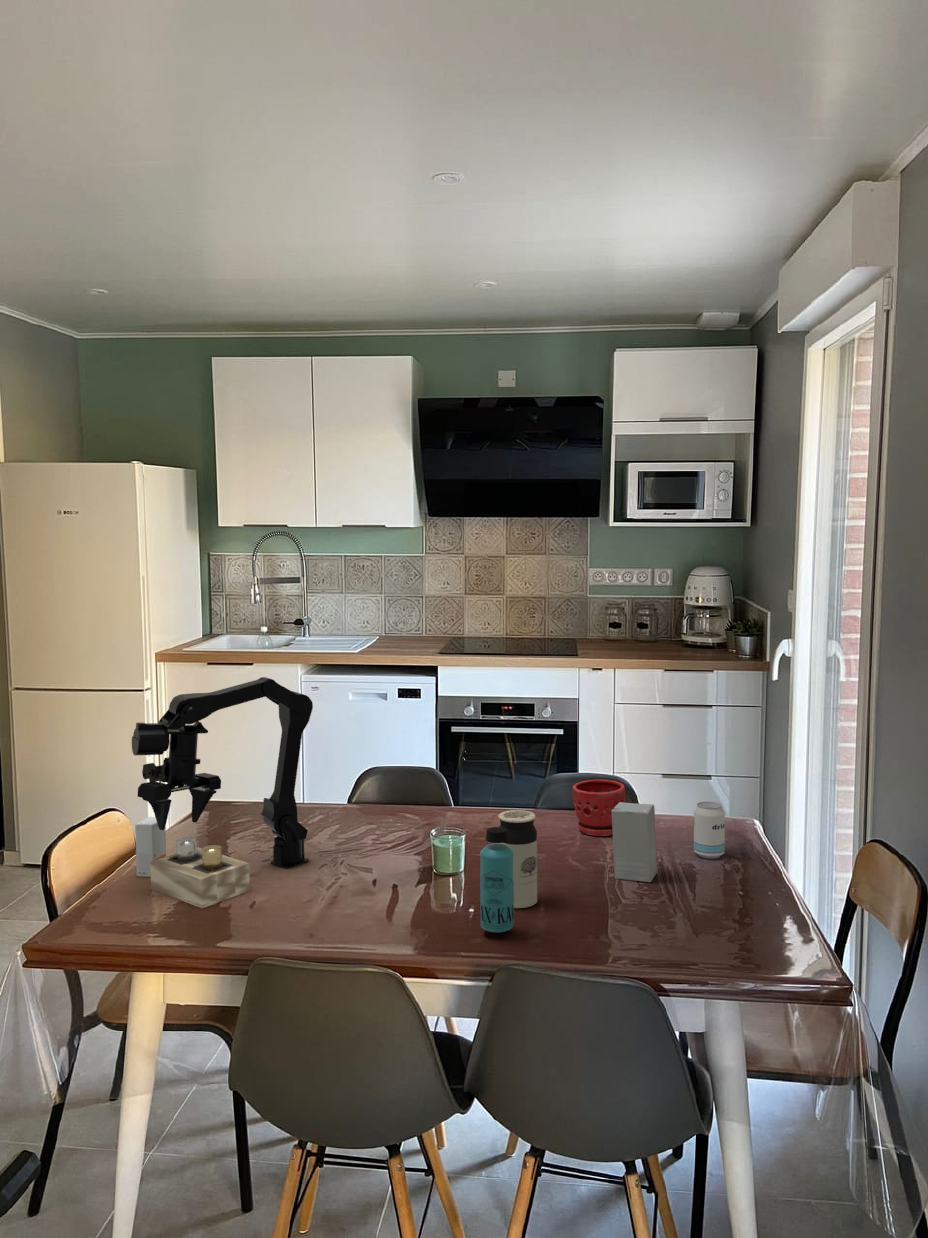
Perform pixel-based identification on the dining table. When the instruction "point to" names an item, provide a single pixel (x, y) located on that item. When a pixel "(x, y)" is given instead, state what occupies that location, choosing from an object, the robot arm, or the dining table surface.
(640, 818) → the skincare box
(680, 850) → the dining table surface
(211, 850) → the brass peg
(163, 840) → the skincare box
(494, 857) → the beverage bottle
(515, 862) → the travel mug
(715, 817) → the beverage can
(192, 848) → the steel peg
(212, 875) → the collar block
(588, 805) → the plant pot
